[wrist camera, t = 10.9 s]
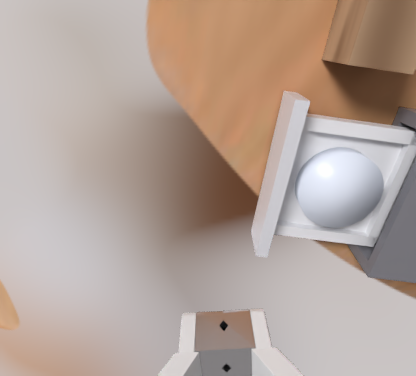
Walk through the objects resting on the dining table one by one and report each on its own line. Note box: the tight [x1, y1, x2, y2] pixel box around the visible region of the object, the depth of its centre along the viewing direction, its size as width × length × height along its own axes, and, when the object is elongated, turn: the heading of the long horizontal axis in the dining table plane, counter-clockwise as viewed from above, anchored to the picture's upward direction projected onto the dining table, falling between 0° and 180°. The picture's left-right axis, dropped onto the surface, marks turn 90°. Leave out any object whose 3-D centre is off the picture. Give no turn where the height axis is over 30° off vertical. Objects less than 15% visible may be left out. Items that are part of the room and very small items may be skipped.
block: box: [322, 0, 416, 74], centre depth 20 cm, size 4×4×5 cm
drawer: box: [251, 91, 416, 257], centre depth 25 cm, size 14×13×4 cm
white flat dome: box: [295, 147, 384, 228], centre depth 24 cm, size 6×6×2 cm
